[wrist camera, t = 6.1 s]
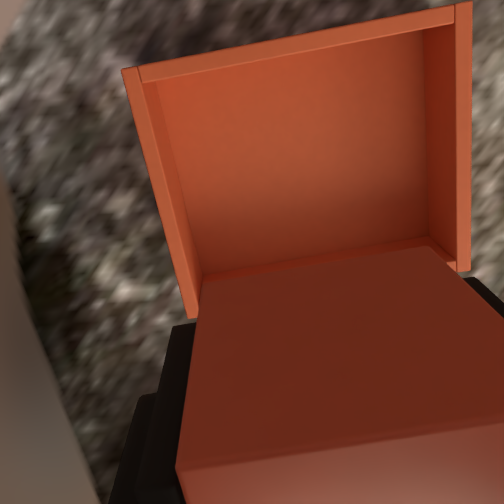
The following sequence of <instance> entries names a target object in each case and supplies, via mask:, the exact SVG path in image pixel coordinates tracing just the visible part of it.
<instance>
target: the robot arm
mask: <svg viewBox="0 0 504 504" xmlns="http://www.w3.org/2000/svg"><path fill="white" fill-rule="evenodd" d="M462 279H463V280H464V281H465V282H466V283H467V284H468V285H470V286H471V287H472V288H473V289H474V290H475V291H476V292H477V293H478V294H479V295H480V296H481V297H482V298H483V299H484V300H485V301H486V302H487V303H488V304H489V305H490V306H491V307H492V308H493V309H494V310H495V311H496V312H497V313H499V314H500V315H501V316H502V317H503V318H504V303H503V302H502V301H501V300H500V299H499V298H498V297H497V296H496V295H495V294H493V293H492V292H491V291H490V290H489V289H488V288H487V287H486V286H485V285H484V284H482V283H481V282H480V281H479V280H478V279H477V278H475V277H468V278H462ZM196 323H197V322H195V323H189V324H183V325H177V326H173V328H172V331H171V335H170V340H169V344H168V348H167V352H166V357H165V361H164V365H163V369H162V374H161V378H160V382H159V386H158V391H157V393H153V394H146V395H142V396H141V397H140V398H139V400H138V402H137V405H136V409H135V412H134V416H133V419H132V423H131V426H130V429H129V433H128V436H127V440H126V443H125V447H124V450H123V454H122V457H121V461H120V464H119V468H118V471H117V475H116V478H115V482H114V485H113V489H112V492H111V496H110V499H109V503H108V504H186V501H185V498H184V495H183V491H182V488H181V485H180V482H179V479H178V476H177V473H176V469H175V465H176V458H177V451H178V444H179V438H180V431H181V424H182V417H183V411H184V404H185V397H186V390H187V384H188V377H189V370H190V363H191V357H192V350H193V343H194V336H195V330H196Z"/></svg>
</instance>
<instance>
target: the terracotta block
mask: <svg viewBox="0 0 504 504" xmlns="http://www.w3.org/2000/svg"><path fill="white" fill-rule="evenodd" d="M175 469H176V473H177V476H178V479H179V482H180V485H181V488H182V491H183V495H184V498H185V501H186V504H504V318H503V317H502V316H501V315H500V314H499V313H497V312H496V311H495V310H494V309H493V308H492V307H491V306H490V305H489V304H488V303H487V302H486V301H485V300H484V299H483V298H482V297H481V296H480V295H479V294H478V293H477V292H476V291H475V290H474V289H473V288H472V287H471V286H470V285H468V284H467V283H466V282H465V281H464V280H463V279H462V278H461V277H460V276H459V275H458V274H457V273H456V272H455V271H454V270H453V269H452V268H451V267H450V266H449V265H448V264H447V263H446V262H445V261H444V260H443V259H442V258H440V257H439V256H438V255H437V254H436V253H435V252H434V251H433V250H432V249H431V248H430V247H428V246H423V247H417V248H411V249H405V250H399V251H393V252H387V253H381V254H375V255H369V256H363V257H357V258H351V259H345V260H339V261H333V262H328V263H322V264H316V265H310V266H304V267H298V268H292V269H286V270H280V271H274V272H268V273H262V274H256V275H250V276H244V277H238V278H232V279H226V280H220V281H214V282H208V283H205V284H203V285H202V289H201V296H200V303H199V309H198V316H197V323H196V330H195V336H194V343H193V350H192V357H191V363H190V370H189V377H188V384H187V390H186V397H185V404H184V411H183V417H182V424H181V431H180V438H179V444H178V451H177V458H176V465H175Z"/></svg>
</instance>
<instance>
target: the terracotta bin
mask: <svg viewBox="0 0 504 504" xmlns="http://www.w3.org/2000/svg"><path fill="white" fill-rule="evenodd" d="M121 73H122V77H123V81H124V85H125V88H126V92H127V96H128V99H129V103H130V107H131V111H132V114H133V118H134V122H135V125H136V129H137V133H138V137H139V140H140V144H141V148H142V151H143V155H144V159H145V163H146V166H147V170H148V174H149V177H150V181H151V185H152V188H153V192H154V196H155V200H156V203H157V207H158V211H159V214H160V218H161V222H162V226H163V229H164V233H165V237H166V240H167V244H168V248H169V252H170V255H171V259H172V263H173V266H174V270H175V274H176V277H177V281H178V285H179V289H180V292H181V296H182V300H183V303H184V307H185V311H186V315H187V318H188V319H190V318H196V317H197V316H198V309H199V303H200V296H201V289H202V285H203V284H205V283H208V282H214V281H220V280H226V279H232V278H238V277H244V276H250V275H256V274H262V273H268V272H274V271H280V270H286V269H292V268H298V267H304V266H310V265H316V264H322V263H328V262H333V261H339V260H345V259H351V258H357V257H363V256H369V255H375V254H381V253H387V252H393V251H399V250H405V249H411V248H417V247H423V246H428V247H430V248H431V249H432V250H433V251H434V252H435V253H436V254H437V255H438V256H439V257H440V258H442V259H443V260H444V261H445V262H446V263H447V264H448V265H449V266H450V267H451V268H452V269H453V270H454V271H455V272H463V271H469V270H471V134H472V1H466V2H461V3H456V4H451V5H446V6H441V7H435V8H430V9H425V10H420V11H415V12H410V13H405V14H400V15H394V16H389V17H384V18H379V19H374V20H369V21H364V22H359V23H354V24H348V25H343V26H338V27H333V28H328V29H323V30H318V31H313V32H307V33H302V34H297V35H292V36H287V37H282V38H277V39H272V40H266V41H261V42H256V43H251V44H246V45H241V46H236V47H231V48H225V49H220V50H215V51H210V52H205V53H200V54H195V55H190V56H185V57H179V58H174V59H169V60H164V61H159V62H154V63H149V64H144V65H139V66H133V67H128V68H123V69H121Z"/></svg>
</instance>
